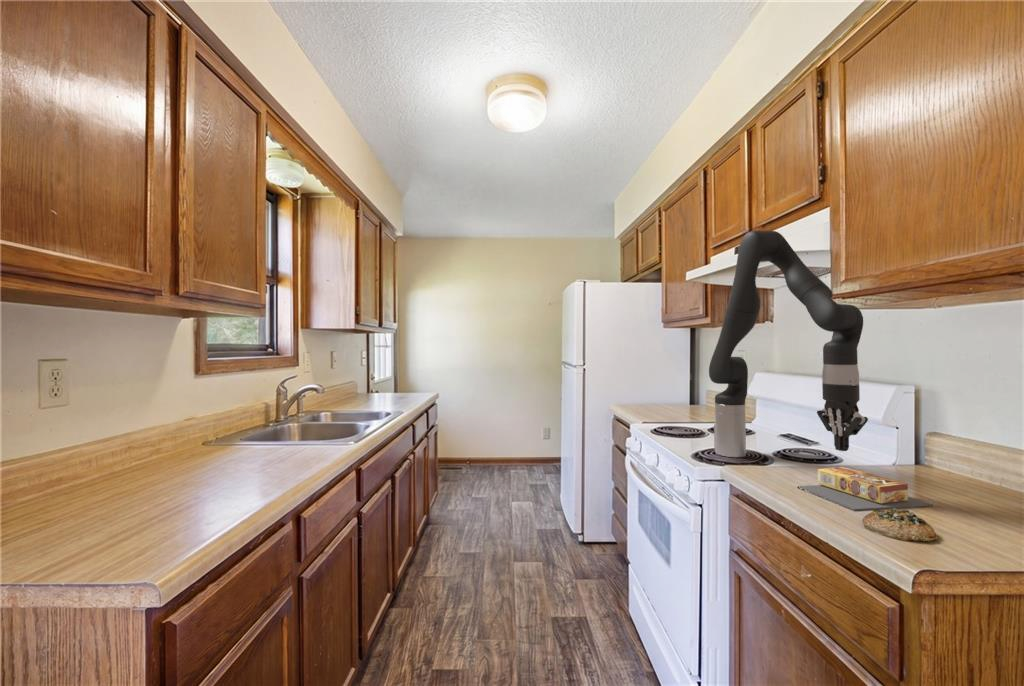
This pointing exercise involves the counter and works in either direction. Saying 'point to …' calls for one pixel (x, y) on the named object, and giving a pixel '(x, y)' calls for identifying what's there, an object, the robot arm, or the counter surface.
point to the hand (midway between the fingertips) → (841, 450)
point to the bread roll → (899, 525)
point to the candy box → (863, 485)
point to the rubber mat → (860, 499)
